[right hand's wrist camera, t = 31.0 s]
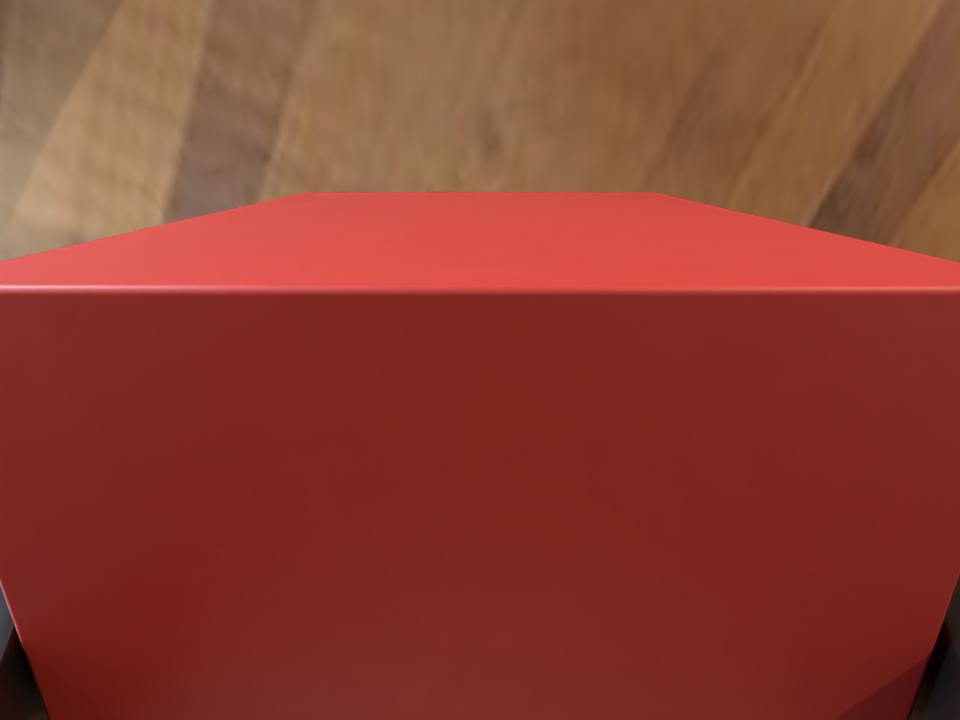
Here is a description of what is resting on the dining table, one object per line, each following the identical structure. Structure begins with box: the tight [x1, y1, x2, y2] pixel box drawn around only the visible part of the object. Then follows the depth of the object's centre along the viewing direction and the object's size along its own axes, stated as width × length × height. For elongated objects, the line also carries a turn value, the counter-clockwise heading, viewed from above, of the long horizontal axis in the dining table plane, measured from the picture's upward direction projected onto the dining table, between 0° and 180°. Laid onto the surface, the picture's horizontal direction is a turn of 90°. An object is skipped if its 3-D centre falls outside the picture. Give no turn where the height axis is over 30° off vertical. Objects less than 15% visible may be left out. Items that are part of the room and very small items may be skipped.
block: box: [0, 192, 960, 720], centre depth 11 cm, size 9×9×10 cm
